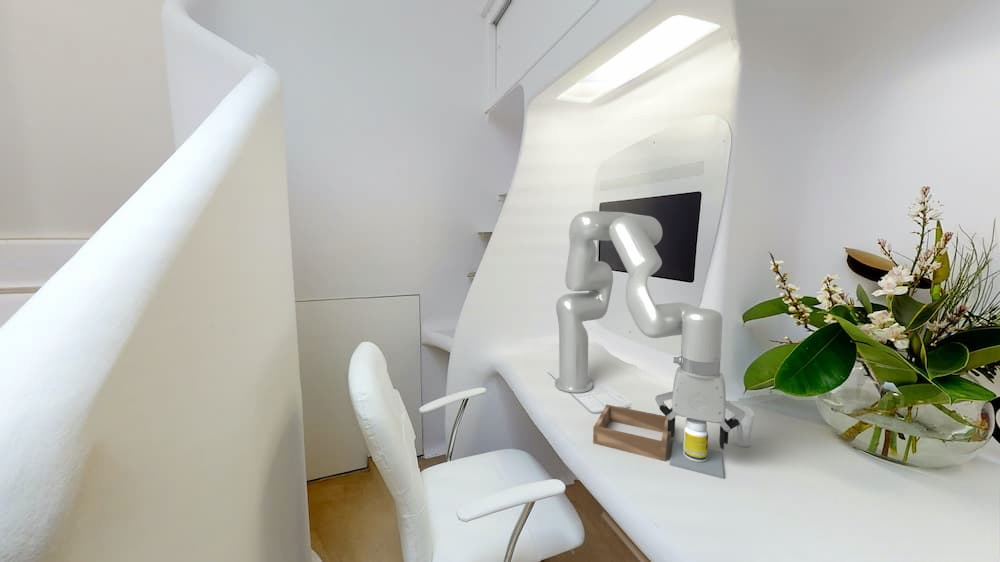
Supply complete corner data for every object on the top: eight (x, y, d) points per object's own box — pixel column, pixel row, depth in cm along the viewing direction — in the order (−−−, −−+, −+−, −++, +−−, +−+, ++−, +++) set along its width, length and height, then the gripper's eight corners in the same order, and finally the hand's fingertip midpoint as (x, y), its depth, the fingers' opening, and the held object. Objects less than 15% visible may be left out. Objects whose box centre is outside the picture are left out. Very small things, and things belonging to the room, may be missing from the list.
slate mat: (672, 442, 88) (673, 440, 88) (721, 453, 83) (721, 451, 83) (669, 464, 79) (669, 462, 79) (723, 478, 74) (723, 476, 74)
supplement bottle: (710, 463, 78) (712, 426, 78) (686, 461, 79) (688, 425, 79) (702, 451, 83) (704, 416, 82) (680, 449, 84) (681, 414, 83)
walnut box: (606, 418, 100) (606, 404, 100) (669, 431, 93) (670, 417, 92) (593, 443, 88) (593, 427, 88) (665, 461, 81) (665, 444, 80)
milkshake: (728, 435, 91) (730, 396, 90) (754, 443, 87) (756, 403, 86) (723, 442, 88) (725, 402, 87) (750, 451, 84) (752, 409, 83)
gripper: (655, 364, 80) (652, 438, 82) (749, 378, 71) (744, 459, 73) (658, 355, 86) (656, 423, 88) (745, 366, 78) (741, 441, 80)
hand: (696, 439), depth 81 cm, fingers open, 9 cm apart
